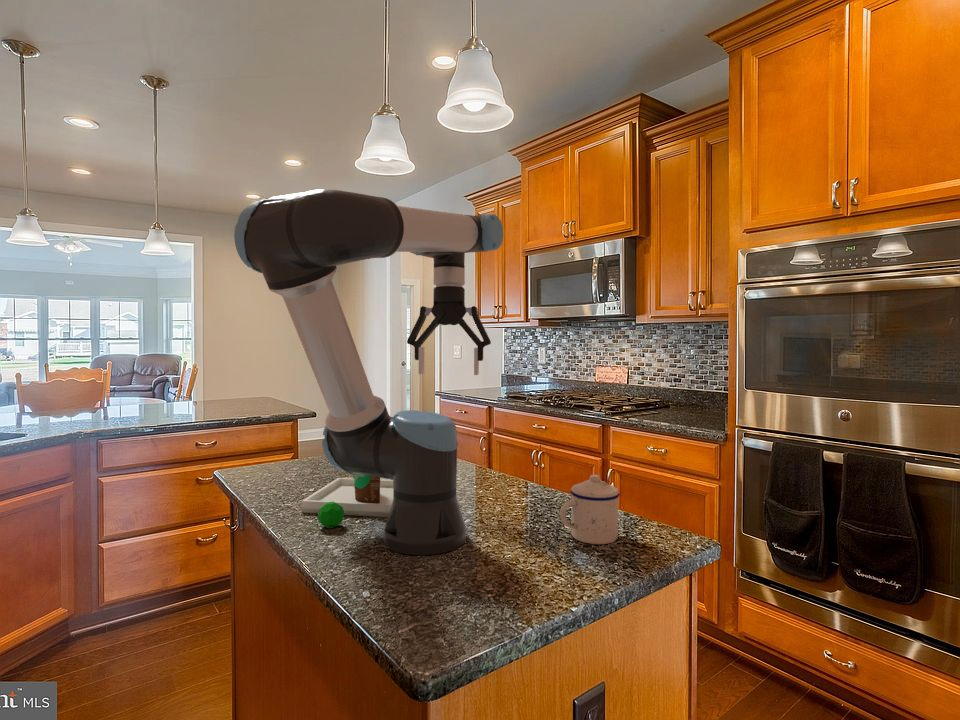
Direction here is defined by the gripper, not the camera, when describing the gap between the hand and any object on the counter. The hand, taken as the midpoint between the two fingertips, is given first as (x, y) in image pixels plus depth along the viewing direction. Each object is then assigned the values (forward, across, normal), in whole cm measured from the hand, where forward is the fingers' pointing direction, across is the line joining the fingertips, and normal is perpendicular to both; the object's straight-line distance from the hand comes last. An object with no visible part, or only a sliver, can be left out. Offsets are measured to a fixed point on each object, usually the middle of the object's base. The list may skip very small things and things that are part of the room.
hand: (448, 374), depth 130 cm
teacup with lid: (+29, -32, +26) cm, 50 cm away
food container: (+28, +17, +12) cm, 35 cm away
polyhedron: (+29, +18, +28) cm, 44 cm away
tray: (+29, +18, +11) cm, 36 cm away
